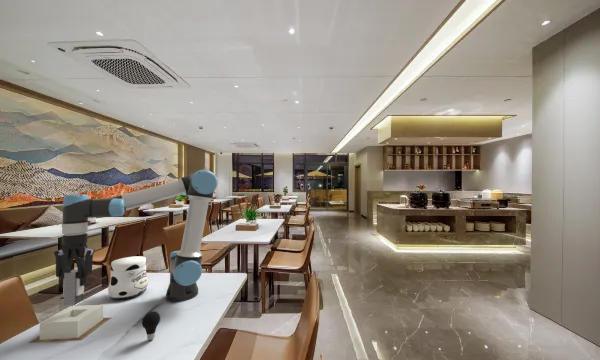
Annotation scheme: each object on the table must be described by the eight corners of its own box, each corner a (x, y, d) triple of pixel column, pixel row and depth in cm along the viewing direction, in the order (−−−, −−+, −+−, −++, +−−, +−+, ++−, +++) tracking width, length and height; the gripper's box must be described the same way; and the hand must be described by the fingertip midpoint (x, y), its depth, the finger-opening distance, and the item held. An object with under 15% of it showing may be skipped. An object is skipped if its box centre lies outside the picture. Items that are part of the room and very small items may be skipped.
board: (111, 320, 106) (111, 317, 106) (81, 343, 90) (81, 340, 90) (66, 322, 105) (66, 319, 105) (27, 346, 89) (27, 342, 89)
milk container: (148, 296, 130) (148, 261, 131) (106, 305, 121) (106, 267, 121) (147, 285, 145) (147, 254, 145) (109, 292, 135) (110, 258, 136)
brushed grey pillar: (82, 300, 100) (83, 269, 101) (74, 304, 96) (75, 272, 97) (72, 300, 100) (73, 269, 100) (63, 304, 96) (64, 272, 96)
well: (103, 319, 105) (103, 304, 105) (77, 338, 92) (77, 321, 92) (69, 321, 104) (70, 306, 104) (39, 339, 91) (39, 322, 91)
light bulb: (146, 335, 95) (146, 308, 95) (163, 334, 95) (163, 307, 95) (138, 345, 89) (138, 316, 89) (155, 344, 89) (155, 315, 90)
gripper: (104, 231, 103) (103, 289, 102) (60, 232, 102) (58, 291, 101) (90, 235, 96) (89, 297, 95) (42, 235, 95) (41, 299, 94)
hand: (73, 294), depth 98 cm, fingers closed on brushed grey pillar, 4 cm apart
